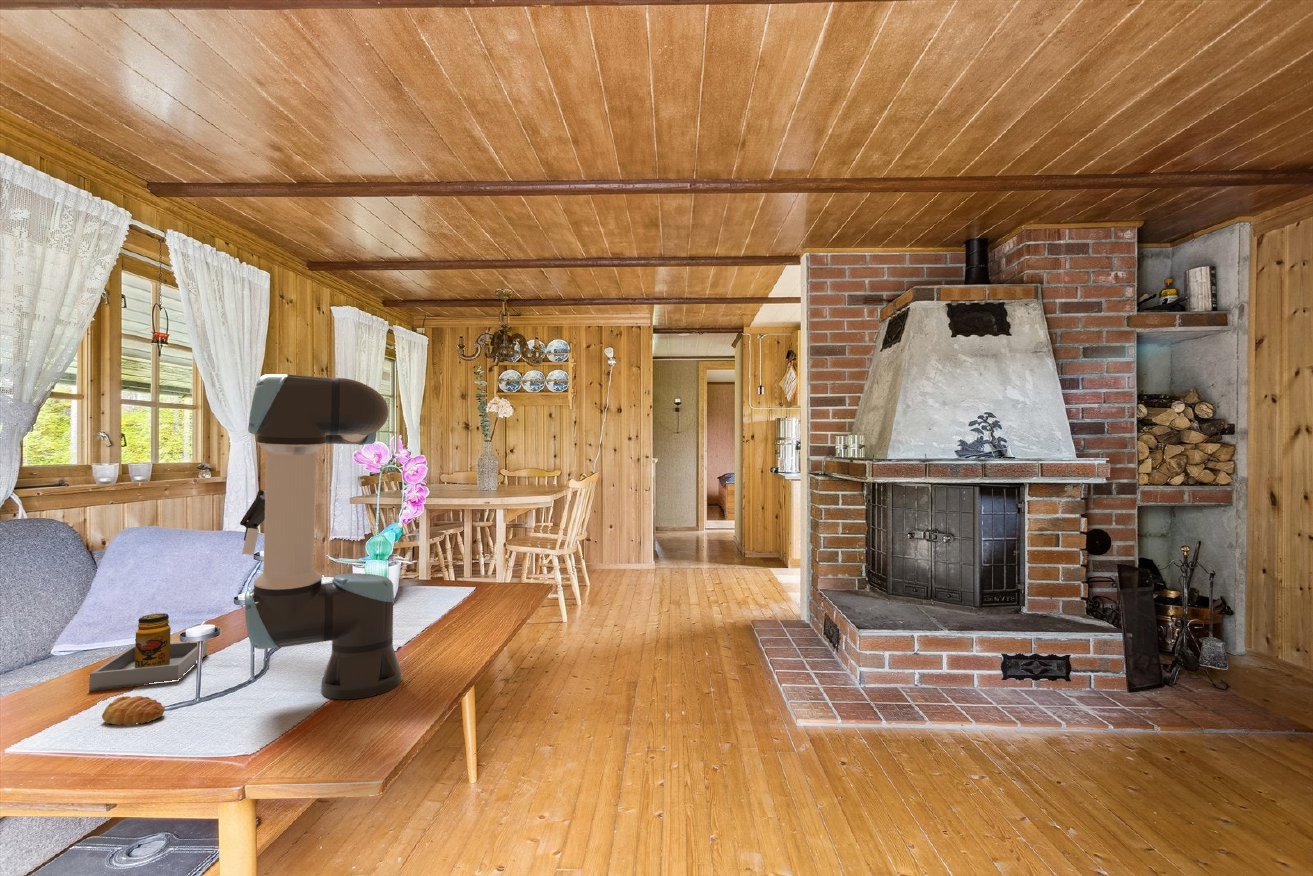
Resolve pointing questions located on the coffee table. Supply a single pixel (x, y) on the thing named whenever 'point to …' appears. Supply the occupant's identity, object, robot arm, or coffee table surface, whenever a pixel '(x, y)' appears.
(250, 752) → the coffee table surface
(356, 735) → the coffee table surface
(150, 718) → the pastry
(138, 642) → the condiment
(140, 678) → the tray
